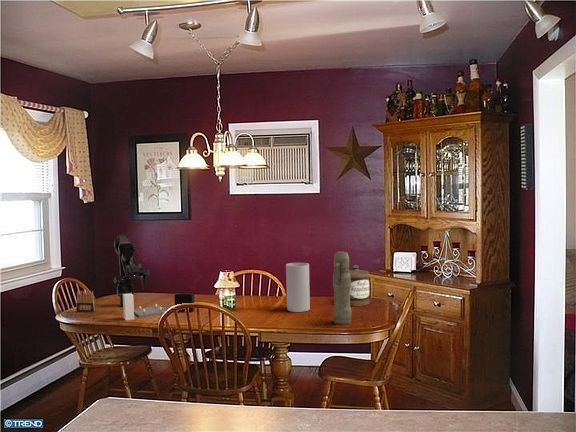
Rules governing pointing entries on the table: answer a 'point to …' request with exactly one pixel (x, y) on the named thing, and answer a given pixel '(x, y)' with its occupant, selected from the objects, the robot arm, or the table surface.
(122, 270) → the robot arm
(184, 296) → the electronic device
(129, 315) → the cream block
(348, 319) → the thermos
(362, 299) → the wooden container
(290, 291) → the cylinder vase
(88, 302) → the ammunition clip
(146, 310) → the mount plate
